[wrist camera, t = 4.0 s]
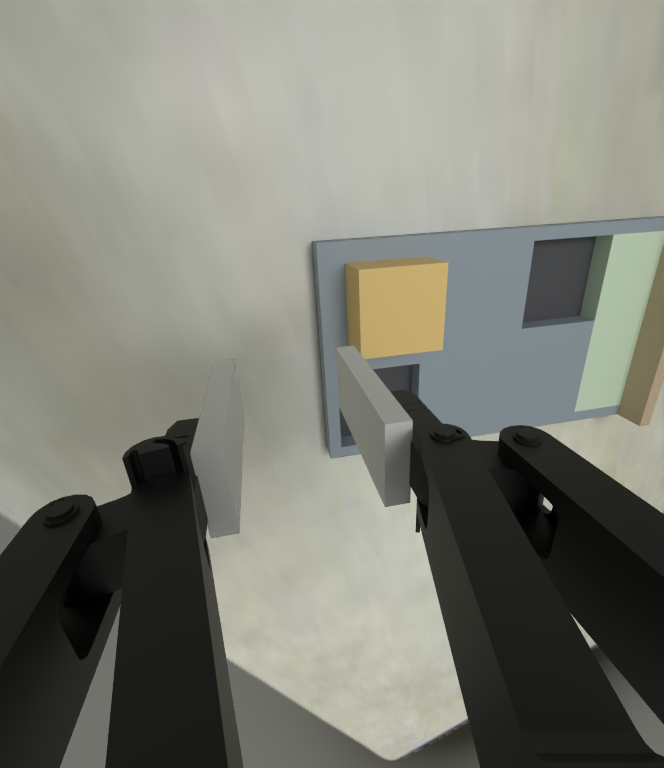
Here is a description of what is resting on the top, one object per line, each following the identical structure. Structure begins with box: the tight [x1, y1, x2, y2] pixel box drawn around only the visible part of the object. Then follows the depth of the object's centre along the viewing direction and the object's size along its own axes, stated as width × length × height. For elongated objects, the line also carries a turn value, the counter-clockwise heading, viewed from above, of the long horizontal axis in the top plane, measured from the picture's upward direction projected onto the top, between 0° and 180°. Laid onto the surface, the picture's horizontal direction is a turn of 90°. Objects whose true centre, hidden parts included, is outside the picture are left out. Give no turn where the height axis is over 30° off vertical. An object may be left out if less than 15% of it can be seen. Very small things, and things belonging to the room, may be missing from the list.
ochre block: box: [345, 257, 448, 359], centre depth 28 cm, size 6×6×4 cm
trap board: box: [312, 216, 664, 458], centre depth 33 cm, size 30×18×4 cm, turn 93°
